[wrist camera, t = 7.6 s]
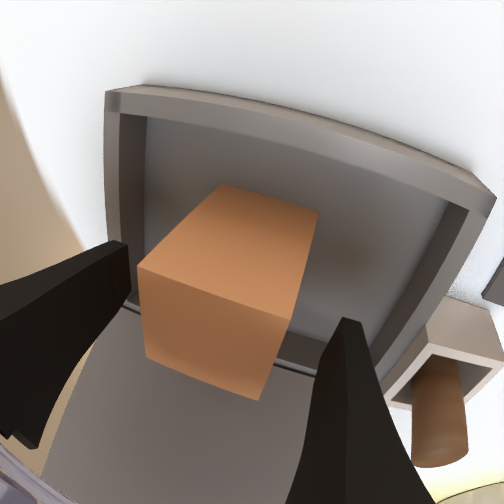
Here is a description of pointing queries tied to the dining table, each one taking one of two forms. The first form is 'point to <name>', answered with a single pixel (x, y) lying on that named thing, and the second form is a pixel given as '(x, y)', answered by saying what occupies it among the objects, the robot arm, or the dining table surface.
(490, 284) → the pad
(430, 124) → the dining table surface
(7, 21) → the dining table surface
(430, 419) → the rod
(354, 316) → the case
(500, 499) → the utensil holder
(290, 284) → the block
